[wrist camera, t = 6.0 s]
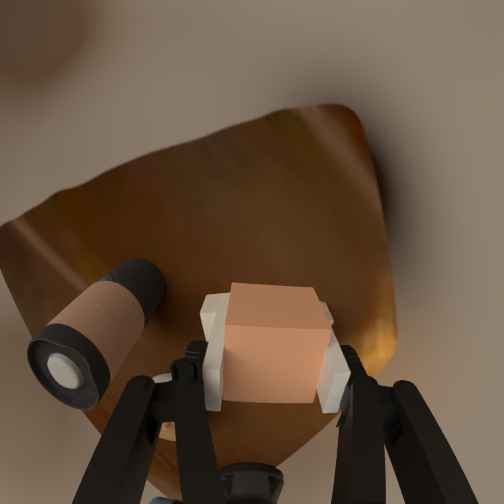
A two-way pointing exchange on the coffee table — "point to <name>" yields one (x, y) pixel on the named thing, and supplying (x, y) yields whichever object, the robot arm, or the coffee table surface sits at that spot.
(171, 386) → the robot arm
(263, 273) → the coffee table surface
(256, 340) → the cube terracotta
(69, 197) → the coffee table surface
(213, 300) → the cube cream
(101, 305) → the travel mug
